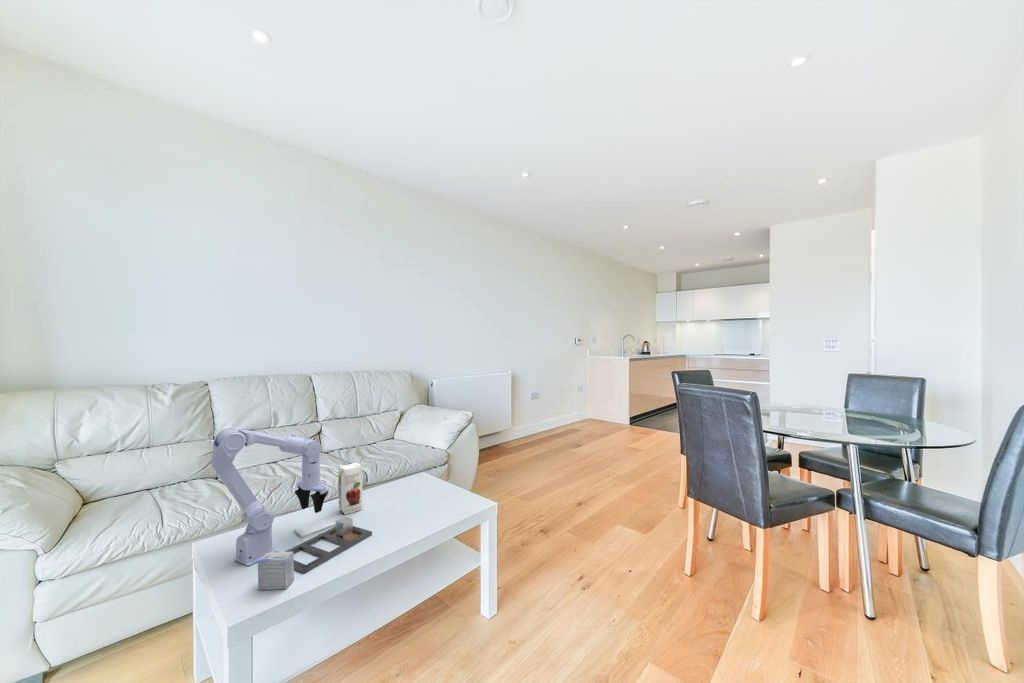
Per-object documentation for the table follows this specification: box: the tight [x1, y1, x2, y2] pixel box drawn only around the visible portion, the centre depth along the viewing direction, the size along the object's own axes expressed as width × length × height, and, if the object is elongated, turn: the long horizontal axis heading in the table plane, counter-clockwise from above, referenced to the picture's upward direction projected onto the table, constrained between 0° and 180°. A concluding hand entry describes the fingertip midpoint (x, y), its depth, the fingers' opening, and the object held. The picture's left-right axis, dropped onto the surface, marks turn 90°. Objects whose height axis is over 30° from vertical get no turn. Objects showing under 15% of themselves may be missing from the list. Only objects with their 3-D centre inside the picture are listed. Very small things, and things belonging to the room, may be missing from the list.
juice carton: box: [337, 462, 364, 516], centre depth 158 cm, size 8×9×19 cm
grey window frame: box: [284, 525, 373, 575], centre depth 128 cm, size 26×16×1 cm, turn 152°
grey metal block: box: [335, 516, 354, 539], centre depth 135 cm, size 4×4×6 cm
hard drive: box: [293, 517, 336, 540], centre depth 142 cm, size 2×8×12 cm
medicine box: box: [257, 551, 295, 591], centre depth 108 cm, size 8×4×9 cm, turn 92°
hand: (311, 510), depth 137 cm, fingers open, 7 cm apart
